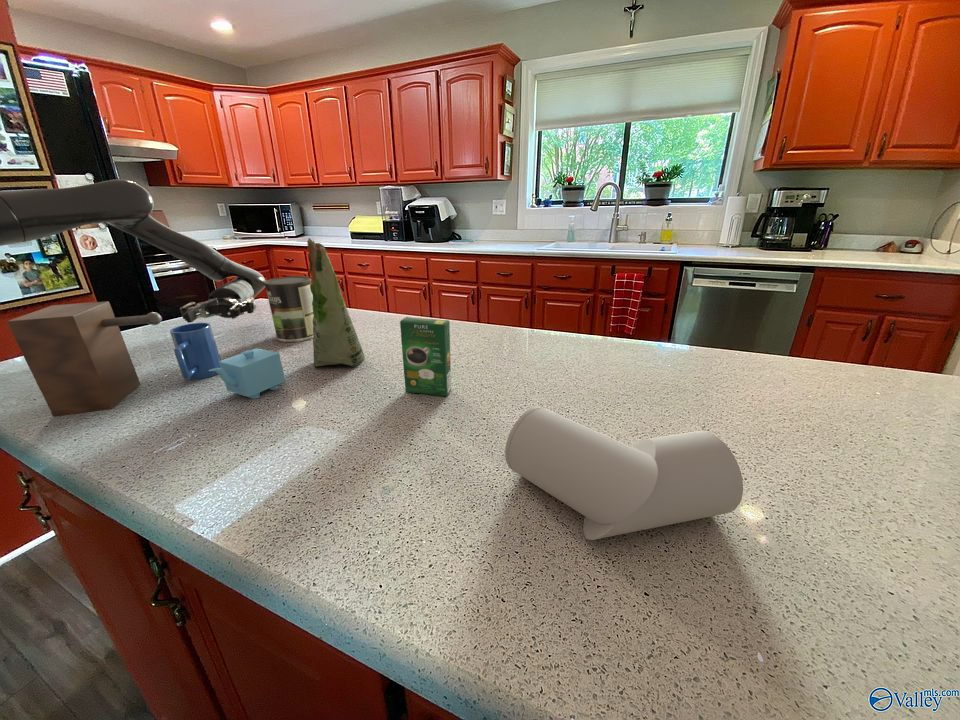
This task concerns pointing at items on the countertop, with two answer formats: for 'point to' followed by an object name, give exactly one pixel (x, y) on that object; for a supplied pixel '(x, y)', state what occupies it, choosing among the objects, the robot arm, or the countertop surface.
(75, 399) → the peg box
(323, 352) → the pouch
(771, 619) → the countertop surface
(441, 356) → the coffee box
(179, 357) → the blue mug
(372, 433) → the countertop surface
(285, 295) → the coffee can
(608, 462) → the bent grey cylinder
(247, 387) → the teapot
